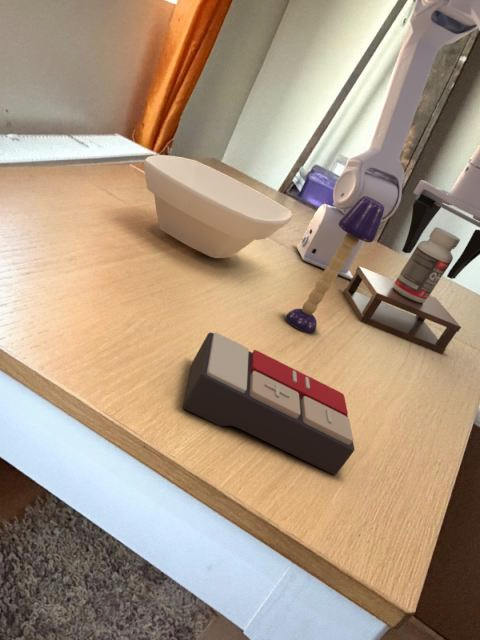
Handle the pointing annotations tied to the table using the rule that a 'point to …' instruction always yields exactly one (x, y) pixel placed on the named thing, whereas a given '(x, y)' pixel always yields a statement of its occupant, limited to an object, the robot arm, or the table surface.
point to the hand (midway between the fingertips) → (427, 264)
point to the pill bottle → (426, 266)
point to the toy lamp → (340, 257)
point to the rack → (399, 311)
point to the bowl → (209, 206)
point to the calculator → (269, 402)
